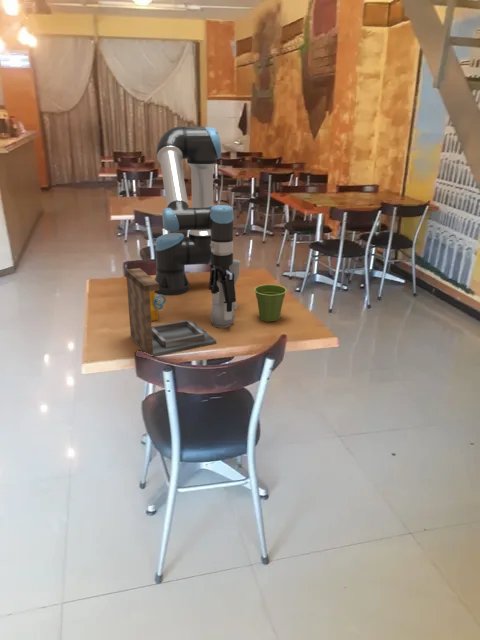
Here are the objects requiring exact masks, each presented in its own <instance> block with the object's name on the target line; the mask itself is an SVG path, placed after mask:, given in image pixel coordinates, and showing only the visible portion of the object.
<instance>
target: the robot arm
mask: <svg viewBox="0 0 480 640" xmlns="http://www.w3.org/2000/svg"><path fill="white" fill-rule="evenodd" d="M221 144H222V143H221V138H220V134H219V132H218V129H216V128H215V127H212V126H174V127H171V128H170V129H168V130H167V131H165V132H164V133H163V134H162V136H160V138H159V140H158V143H157V146H156V159H157V162H158V163H159V164H160V168H161V169H160V170H161V175H162V183H163V188H164V189H163V190H164V197H165V204H166V208H163V209H162V212H161V213H162V226H163V229H164V230H165V231H171V233H166V234H162V235H160V236H158V237H157V238H156V239H155V248H154V250H155V259H156V260H155V261H156V262H155V263H156V273H155V278H154V280H155V281H156V282H158V283H159V290H157V291H155V294H158V295H164V296H165V295H167V296H169V295H171V296H172V295H173V296H175V295H181V294H184V293H187V292H188V291H189V290H190V282H189V280H188V277H187V274H186V271H185V266H191V265H195V266H196V265H209V268H210V269H209V270H210V271H209V279H208V281H209V282H208V291H210V293H211V308H212V307H213V305H214V304H217V303H219V287H218V286H217V281H218V280H219V279H220V283H221V284H222V287H223V292H224V297H225V302H224V320H231V319H232V302H236V303H237V298H236V288H235V286H236V285H234V273H230V270H229V266H230V265H232V264H233V259H234V254H233V252H234V219H235V216H234V208H233V206H230V205H226V204H218V205H217V204H215V205H214V167H216V165H217V164H218V161H217V160H219V159H221V157H222V146H221ZM185 159H186V164H187V165H188V166H189V167H190V170H191V171H190V173H191V180H190V181H191V207H189V206H190V205H189V200H188V194H187V188H186V183H185V177H184V170H183V166H182V162H183V161H182V160H185ZM178 231H188V236H185V235H184V233H182V232H178ZM223 280H225V281H223Z"/></svg>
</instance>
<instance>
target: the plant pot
mask: <svg viewBox="0 0 480 640" xmlns="http://www.w3.org/2000/svg"><path fill="white" fill-rule="evenodd" d="M253 292H254V293H255V297H256V300H257V307H258V313H259V319H260V320H262V321H264V322H277V321H279V320H280V318H281V312H282V308H283V302H284V298H285V295H286V293H287V292H288V289H287V288H286V287H285V286H283V285H278V284H261V285H257V286H255V287H254V288H253Z"/></svg>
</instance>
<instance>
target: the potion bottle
mask: <svg viewBox="0 0 480 640" xmlns="http://www.w3.org/2000/svg"><path fill="white" fill-rule="evenodd" d="M223 281H225V280H223ZM217 286H218V287H219V292H218V293H219V303H217V304H214V305H213V307H212V306H211V309H210V315H209V318H210V321H211V323H212V326H213V327H215V328H219V329H220V328H221V329H223V328H224V329H225V328H230V327H231V326H232V325H233V322H234V320H235V317H236V314H235V311H234V310H235V309H233V308H232V319H231V320H224V302H225V297H224V292H223V287H222V284H221V283H220V279H219V280H218V281H217Z"/></svg>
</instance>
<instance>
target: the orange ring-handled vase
mask: <svg viewBox="0 0 480 640" xmlns="http://www.w3.org/2000/svg"><path fill="white" fill-rule="evenodd" d="M152 278H153V277H152ZM153 279H154V280H155V278H153ZM160 297H161V298H163V301H162V299H160ZM166 300H167V299H166V296H165V294H157V295H156V292H155V291H150V309H151V322H156V321H158V320H159V318H160V317H159V311H160V310H162V309H163V307H164V305H165V303H166ZM158 302H159V303H158Z"/></svg>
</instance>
